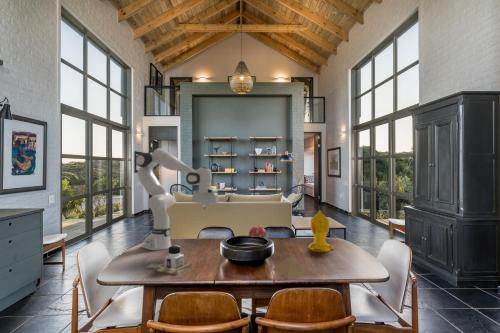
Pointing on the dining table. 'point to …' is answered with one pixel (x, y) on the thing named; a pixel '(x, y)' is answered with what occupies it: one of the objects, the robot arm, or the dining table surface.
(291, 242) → the dining table surface
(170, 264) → the container
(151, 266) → the slate tile
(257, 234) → the decorative mushroom
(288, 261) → the model pyramid
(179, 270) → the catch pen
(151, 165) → the robot arm
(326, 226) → the yellow statue
